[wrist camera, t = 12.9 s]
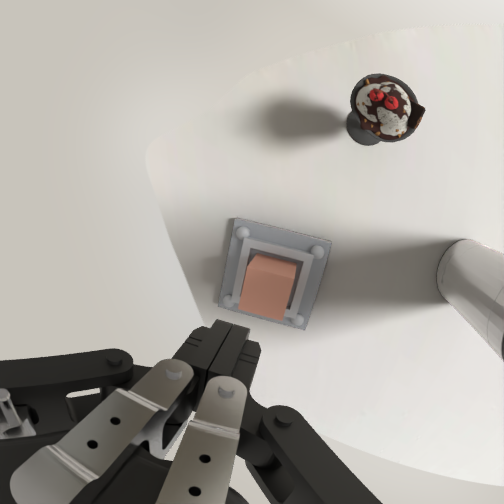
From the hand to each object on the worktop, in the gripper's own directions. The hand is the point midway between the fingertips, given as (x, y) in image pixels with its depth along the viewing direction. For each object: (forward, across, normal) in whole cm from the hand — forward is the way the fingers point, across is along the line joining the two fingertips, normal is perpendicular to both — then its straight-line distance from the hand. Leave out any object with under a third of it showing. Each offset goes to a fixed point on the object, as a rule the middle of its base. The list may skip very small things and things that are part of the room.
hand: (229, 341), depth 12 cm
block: (+24, 0, +5) cm, 24 cm away
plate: (+25, 0, +5) cm, 25 cm away
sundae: (+25, -7, -16) cm, 31 cm away
